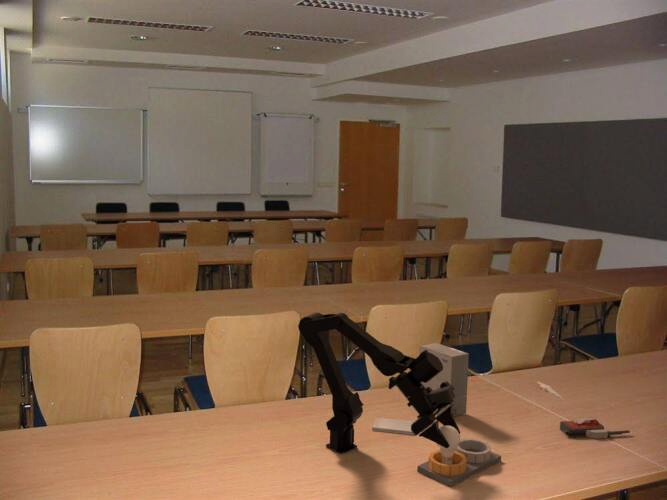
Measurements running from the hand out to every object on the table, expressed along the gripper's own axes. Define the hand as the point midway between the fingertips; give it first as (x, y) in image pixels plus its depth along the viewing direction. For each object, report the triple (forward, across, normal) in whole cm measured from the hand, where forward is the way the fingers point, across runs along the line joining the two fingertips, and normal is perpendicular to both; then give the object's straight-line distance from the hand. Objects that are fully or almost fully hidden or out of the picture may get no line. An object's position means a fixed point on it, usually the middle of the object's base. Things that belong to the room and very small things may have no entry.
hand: (453, 440), depth 178 cm
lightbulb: (+4, 0, +7) cm, 8 cm away
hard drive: (-10, +21, +24) cm, 34 cm away
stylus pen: (+15, +76, -2) cm, 78 cm away
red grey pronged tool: (+28, +46, -14) cm, 56 cm away
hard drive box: (-5, +42, +18) cm, 46 cm away
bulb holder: (+7, +5, +6) cm, 10 cm away
